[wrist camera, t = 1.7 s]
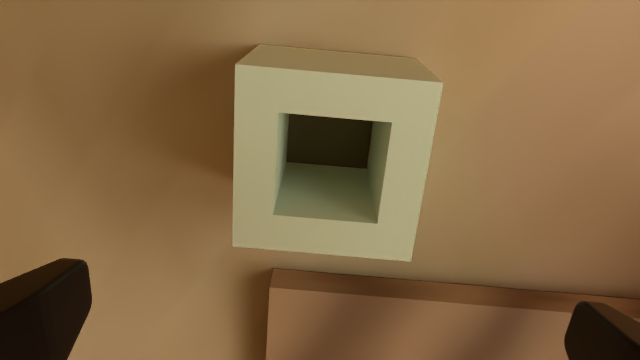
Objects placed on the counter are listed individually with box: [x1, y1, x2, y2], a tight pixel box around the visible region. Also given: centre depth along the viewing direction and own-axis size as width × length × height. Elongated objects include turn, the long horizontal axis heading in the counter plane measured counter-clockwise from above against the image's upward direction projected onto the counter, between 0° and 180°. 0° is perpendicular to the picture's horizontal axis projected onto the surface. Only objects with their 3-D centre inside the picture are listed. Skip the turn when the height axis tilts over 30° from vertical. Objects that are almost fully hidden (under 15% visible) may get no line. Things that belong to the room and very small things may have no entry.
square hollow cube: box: [232, 44, 443, 262], centre depth 17 cm, size 6×6×5 cm
